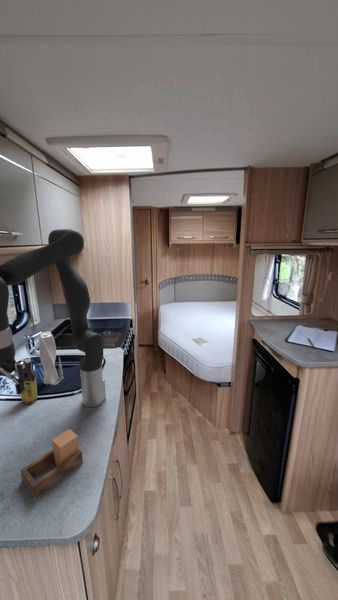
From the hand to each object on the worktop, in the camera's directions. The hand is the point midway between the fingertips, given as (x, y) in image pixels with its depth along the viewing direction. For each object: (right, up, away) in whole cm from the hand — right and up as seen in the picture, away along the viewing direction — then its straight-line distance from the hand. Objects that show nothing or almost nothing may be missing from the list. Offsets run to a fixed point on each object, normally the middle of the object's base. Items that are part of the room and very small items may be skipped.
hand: (7, 392), depth 75 cm
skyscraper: (-11, -14, +52) cm, 55 cm away
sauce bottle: (-13, -18, +36) cm, 42 cm away
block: (+16, -25, +6) cm, 30 cm away
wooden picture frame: (+13, -26, +3) cm, 29 cm away
